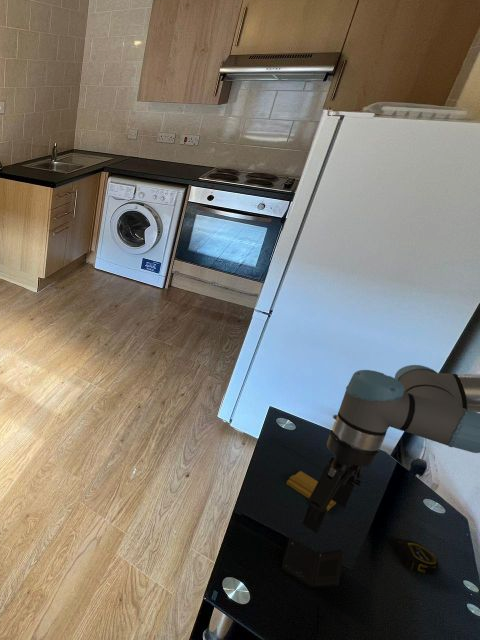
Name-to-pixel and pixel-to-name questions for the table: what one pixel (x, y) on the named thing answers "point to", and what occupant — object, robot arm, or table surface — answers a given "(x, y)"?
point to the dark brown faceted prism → (312, 565)
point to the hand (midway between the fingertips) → (324, 515)
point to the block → (305, 485)
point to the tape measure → (415, 556)
